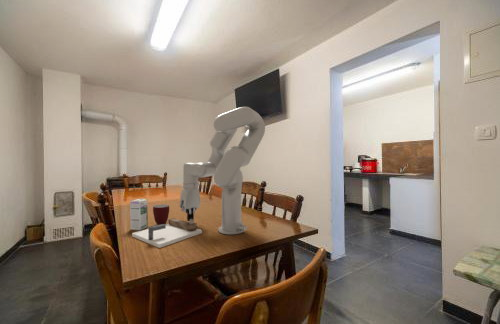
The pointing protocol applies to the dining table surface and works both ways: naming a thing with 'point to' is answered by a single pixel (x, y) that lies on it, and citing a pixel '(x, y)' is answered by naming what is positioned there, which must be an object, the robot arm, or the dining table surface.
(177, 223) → the walnut link
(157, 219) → the mug
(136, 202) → the syrup box
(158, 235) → the pintle board
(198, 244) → the dining table surface
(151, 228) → the block
